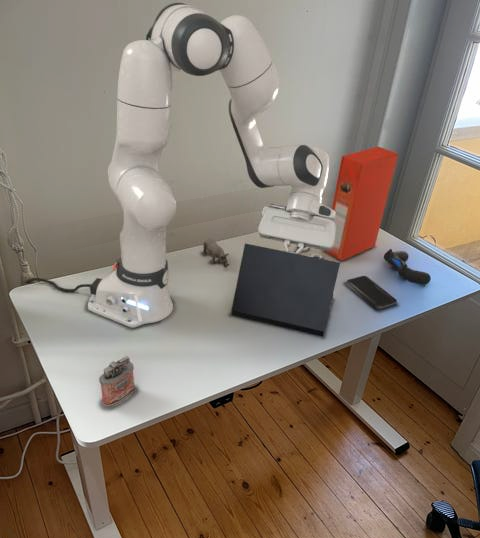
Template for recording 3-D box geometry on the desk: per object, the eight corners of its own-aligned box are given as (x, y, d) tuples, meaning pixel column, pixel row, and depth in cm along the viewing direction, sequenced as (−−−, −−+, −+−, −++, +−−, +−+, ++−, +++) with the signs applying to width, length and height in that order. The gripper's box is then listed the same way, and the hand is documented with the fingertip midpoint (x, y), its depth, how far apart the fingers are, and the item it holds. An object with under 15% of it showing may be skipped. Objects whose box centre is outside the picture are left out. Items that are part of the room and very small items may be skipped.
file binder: (323, 250, 168) (342, 155, 148) (356, 237, 177) (378, 146, 157) (341, 261, 163) (363, 164, 143) (374, 246, 172) (399, 154, 153)
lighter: (108, 410, 107) (104, 376, 100) (99, 402, 108) (94, 368, 102) (138, 391, 112) (136, 358, 105) (129, 383, 113) (126, 350, 107)
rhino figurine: (222, 274, 152) (223, 257, 148) (199, 253, 161) (200, 236, 157) (233, 271, 154) (234, 254, 150) (211, 250, 162) (211, 233, 159)
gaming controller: (395, 265, 168) (376, 253, 163) (407, 251, 166) (388, 239, 161) (422, 293, 156) (402, 282, 150) (435, 279, 154) (415, 267, 148)
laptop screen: (245, 243, 132) (244, 243, 132) (340, 262, 128) (340, 262, 127) (231, 310, 135) (231, 310, 134) (324, 331, 130) (324, 331, 130)
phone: (378, 307, 142) (345, 280, 152) (377, 311, 142) (344, 283, 152) (399, 301, 145) (365, 274, 155) (398, 304, 146) (365, 278, 156)
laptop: (248, 281, 150) (249, 275, 149) (332, 299, 145) (333, 293, 144) (231, 315, 136) (231, 309, 135) (323, 336, 132) (324, 331, 130)
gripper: (263, 197, 132) (250, 248, 130) (341, 212, 128) (329, 264, 126) (265, 206, 138) (253, 254, 136) (340, 221, 134) (328, 270, 133)
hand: (290, 259), depth 131 cm, fingers closed, pressing on laptop screen
